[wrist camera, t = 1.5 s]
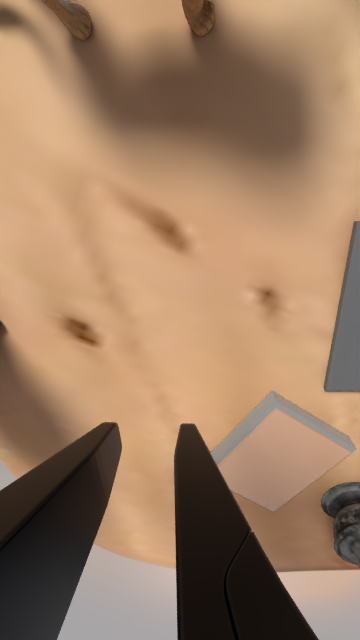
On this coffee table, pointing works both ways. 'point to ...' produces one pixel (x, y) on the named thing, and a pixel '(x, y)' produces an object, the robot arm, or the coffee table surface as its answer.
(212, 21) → the lion figurine
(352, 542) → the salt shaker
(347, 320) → the mat
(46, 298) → the coffee table surface
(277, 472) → the tile
